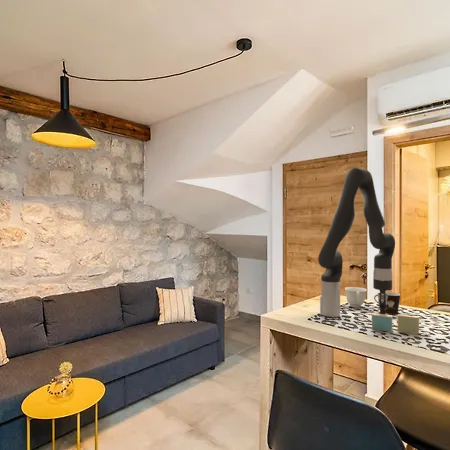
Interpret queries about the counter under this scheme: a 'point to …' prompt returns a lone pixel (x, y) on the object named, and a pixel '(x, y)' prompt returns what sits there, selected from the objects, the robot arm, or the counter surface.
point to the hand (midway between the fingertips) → (382, 317)
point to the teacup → (355, 296)
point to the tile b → (408, 324)
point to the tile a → (382, 322)
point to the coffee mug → (392, 303)
